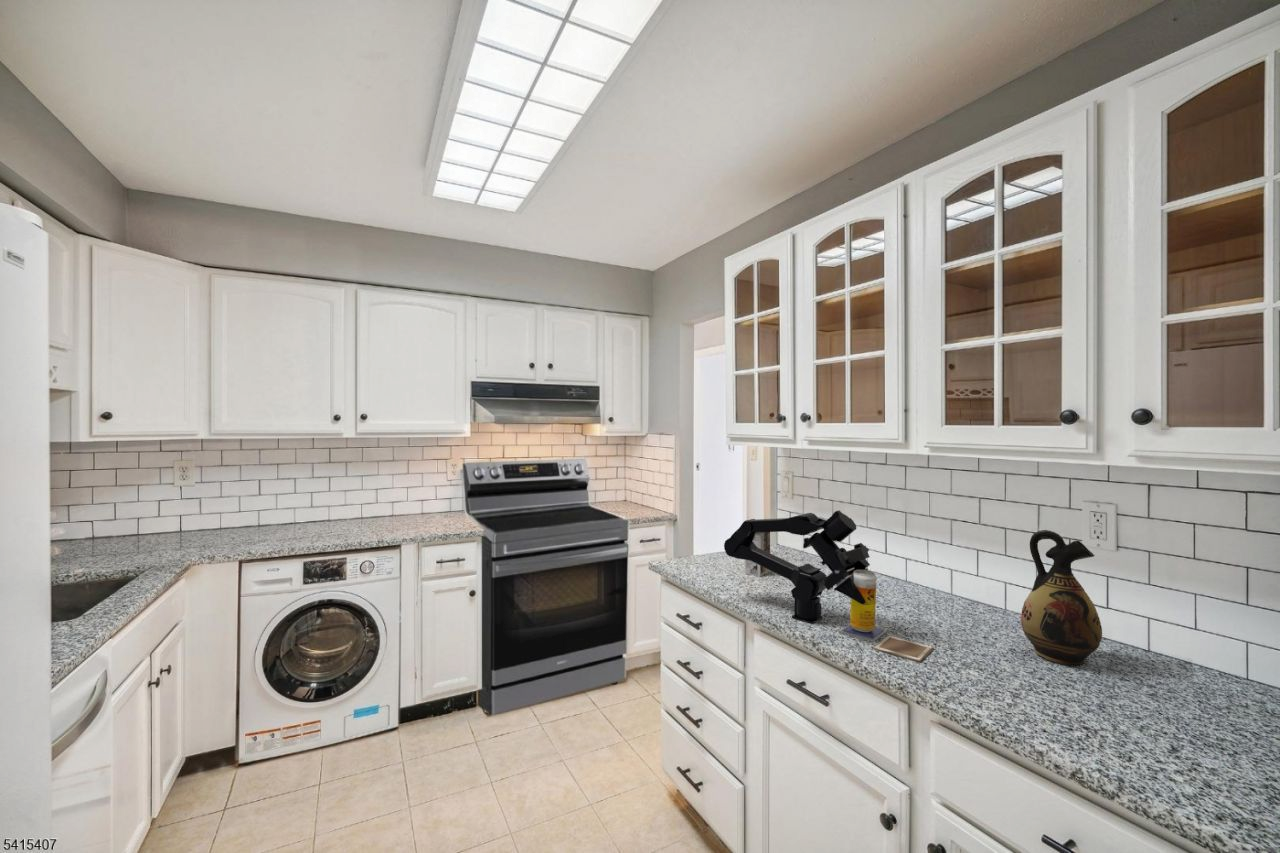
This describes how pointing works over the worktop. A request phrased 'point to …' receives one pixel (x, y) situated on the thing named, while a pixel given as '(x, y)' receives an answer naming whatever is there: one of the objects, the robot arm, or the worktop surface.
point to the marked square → (903, 648)
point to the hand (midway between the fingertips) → (869, 600)
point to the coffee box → (762, 543)
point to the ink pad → (864, 633)
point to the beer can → (865, 613)
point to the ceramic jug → (1060, 606)
